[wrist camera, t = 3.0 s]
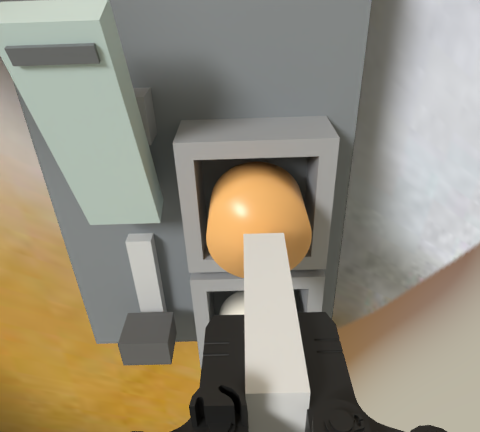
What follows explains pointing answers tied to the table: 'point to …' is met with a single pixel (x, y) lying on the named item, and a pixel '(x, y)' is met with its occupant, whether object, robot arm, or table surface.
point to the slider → (148, 338)
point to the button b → (256, 213)
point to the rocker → (83, 104)
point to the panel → (220, 148)
